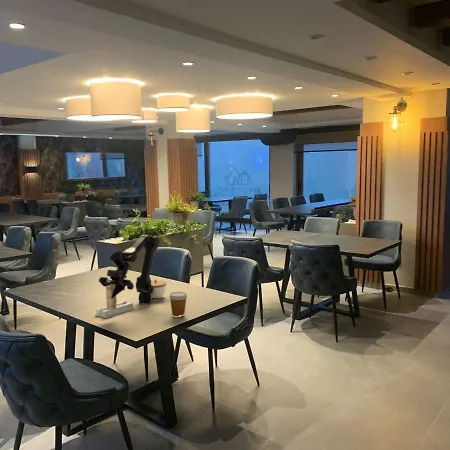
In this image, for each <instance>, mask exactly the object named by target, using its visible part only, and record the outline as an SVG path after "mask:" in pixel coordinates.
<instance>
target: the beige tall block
mask: <svg viewBox="0 0 450 450" xmlns="http://www.w3.org/2000/svg"><path fill="white" fill-rule="evenodd" d="M115 287H116V285H115V284H111V285H108V286H106V287H105V294H106V295H105V296H106V297H105V298H106V299H105V300H106V306H107V310H110V311H111V310H113V309H115V308H117V303H118V302H117V295H116V296H115V297H114V298H112V294H113V292H114V290H115Z"/></svg>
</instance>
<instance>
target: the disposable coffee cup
mask: <svg viewBox="0 0 450 450" xmlns="http://www.w3.org/2000/svg"><path fill="white" fill-rule="evenodd" d="M187 297H188V295H187V293H186V292H184V291H173V292H170V294H169V297H168V298H169V301H170V307H171V315H174V316H179V315H183V314H184V315H185V312H186V311H185V310H186V302H187Z"/></svg>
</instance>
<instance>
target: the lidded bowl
mask: <svg viewBox="0 0 450 450" xmlns="http://www.w3.org/2000/svg"><path fill="white" fill-rule="evenodd" d="M151 285H152V286H153V288H154V292H153V293H151V298H160V299H162V298H161V297H164V295H165V294H166V290H167V282H166V281H164V280H159V279H158V280H157V279H154V280H151Z"/></svg>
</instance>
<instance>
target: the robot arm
mask: <svg viewBox="0 0 450 450" xmlns="http://www.w3.org/2000/svg"><path fill="white" fill-rule="evenodd" d="M159 244H160V240H159V238H158V237H157V236H150V235H147V234H142V235H140V236H139V238H138V239H137V240H136V241H135V242H134V243H133V245H132V246H131V247H129V248H127V249H125V250H123V251H122V252H121V251H120V250H117V251H116V252H114V253H112V254H111V255H110V258H109V259H110V261H111V262H112V264H113V265H114V266H115V267H117V268H116V269H114V270H113V269H108V270H107V273H106V276H107V277H105V276H100V277H99V278H98V282H99V283H100V285H102V286H103V287H105V288H106V286H108V285H111V284H115V285H116V287H115V290H114V292H113V294H112V298H114V297H115V296H116V297H117V295H119V294H120V293H122V292H123V291H125V290H126V288H127V290H131V291H132V290H134V287H135V289H136V292H137V293H139V294H138V303H150V304H152V302H153V301H152V300H153V299H151V293H153V292H154V288H153V286H152V285H151V281H152V279H151V277H150V276H151V271H152V266H153V265H152V264H153V260H154V254H155V252H156V251H157V249H158V247H159ZM143 248H144V250H145V253H144V258H143V263H142V267H141V268H142V269H141V274H140V275H139V276H137V278H136V280H135V281H136V282H135V284H134V283H133V282H132V281H131V279H127V277H128V276H127V274H128V272H129V270H132V266H131V264H130V263H134V262H135V261H136V260H137V258H138V253H139V252H140V251H141V250H142V249H143ZM108 277H109V278H108Z"/></svg>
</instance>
